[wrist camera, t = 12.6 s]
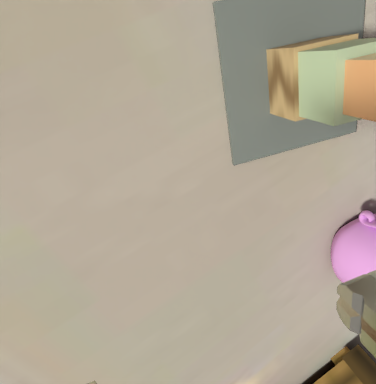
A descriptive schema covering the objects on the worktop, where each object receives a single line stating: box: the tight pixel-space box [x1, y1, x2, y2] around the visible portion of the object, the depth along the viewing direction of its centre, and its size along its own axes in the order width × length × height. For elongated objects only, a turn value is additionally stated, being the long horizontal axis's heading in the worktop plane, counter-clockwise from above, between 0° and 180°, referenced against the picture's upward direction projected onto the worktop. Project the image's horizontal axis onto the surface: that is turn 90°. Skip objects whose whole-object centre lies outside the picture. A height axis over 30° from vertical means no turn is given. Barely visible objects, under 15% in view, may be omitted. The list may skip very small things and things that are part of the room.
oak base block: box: [266, 33, 359, 122], centre depth 37 cm, size 8×8×6 cm
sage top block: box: [298, 38, 376, 126], centre depth 32 cm, size 7×7×6 cm
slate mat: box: [213, 0, 365, 165], centre depth 40 cm, size 20×20×1 cm
